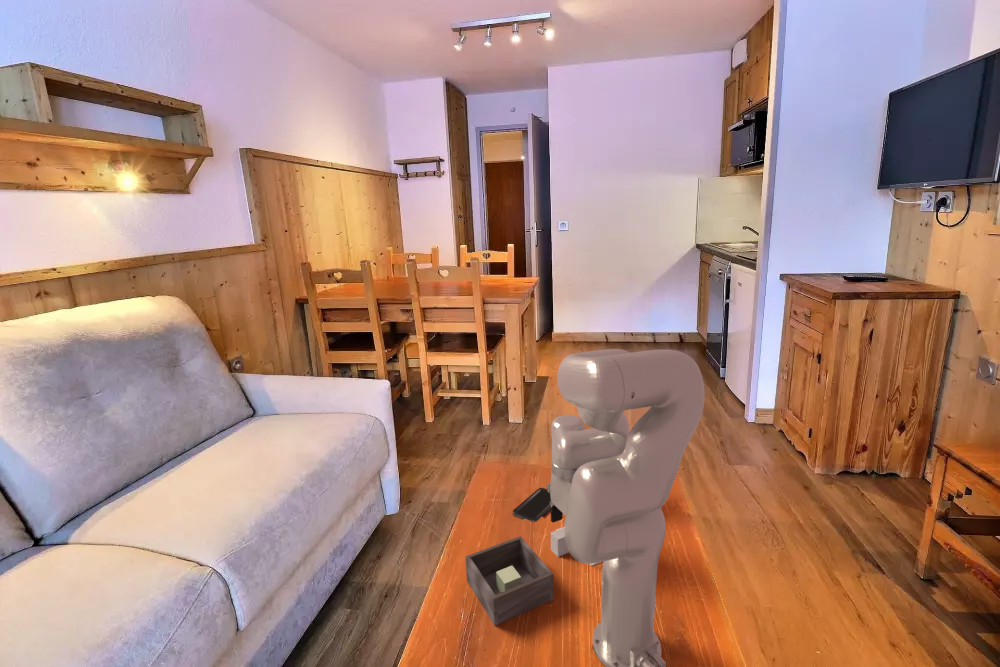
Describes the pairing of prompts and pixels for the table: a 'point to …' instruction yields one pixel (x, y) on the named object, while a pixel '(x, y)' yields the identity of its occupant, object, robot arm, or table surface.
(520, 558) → the box
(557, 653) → the table surface
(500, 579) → the cube
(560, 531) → the lid
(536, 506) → the phone
